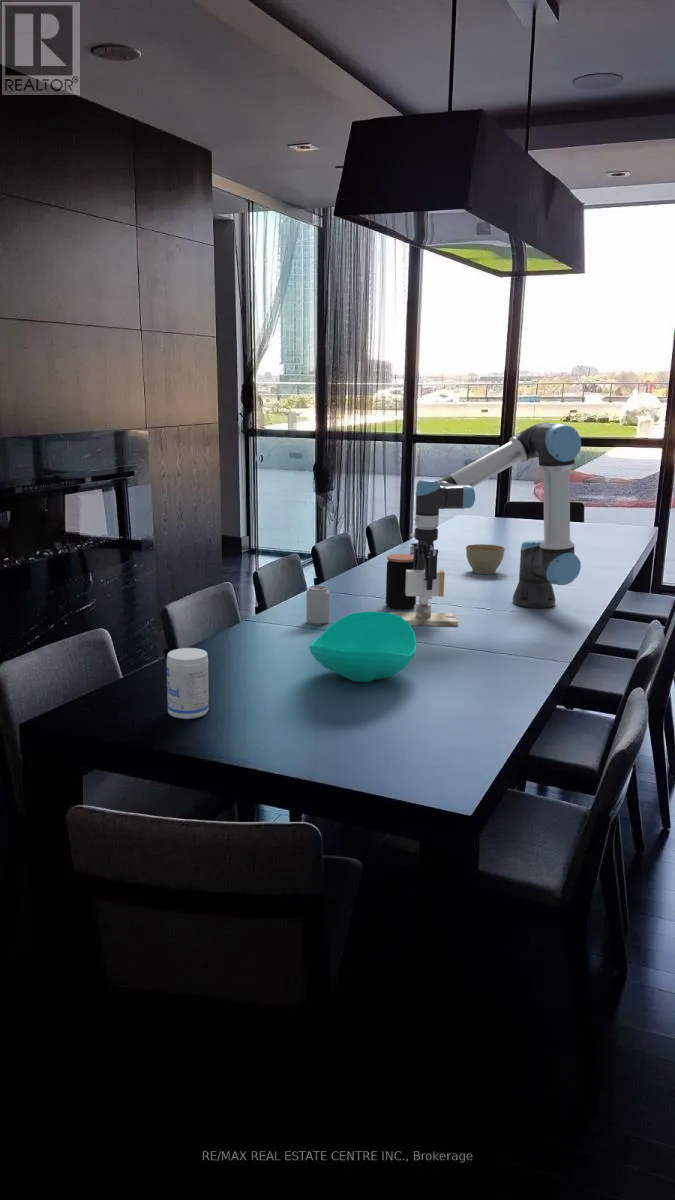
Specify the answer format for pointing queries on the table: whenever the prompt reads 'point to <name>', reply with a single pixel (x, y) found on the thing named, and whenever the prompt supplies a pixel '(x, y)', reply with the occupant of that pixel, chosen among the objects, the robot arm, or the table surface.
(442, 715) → the table surface
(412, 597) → the coffee jar
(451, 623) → the lock board
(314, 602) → the can
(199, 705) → the supplement tub
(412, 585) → the orange-capped white bar
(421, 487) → the robot arm
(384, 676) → the table top decor
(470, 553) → the planter bowl
